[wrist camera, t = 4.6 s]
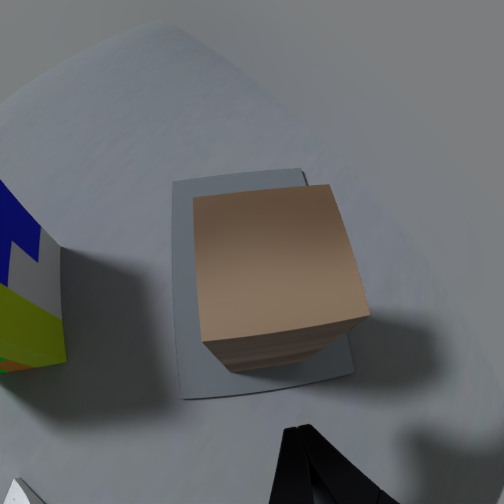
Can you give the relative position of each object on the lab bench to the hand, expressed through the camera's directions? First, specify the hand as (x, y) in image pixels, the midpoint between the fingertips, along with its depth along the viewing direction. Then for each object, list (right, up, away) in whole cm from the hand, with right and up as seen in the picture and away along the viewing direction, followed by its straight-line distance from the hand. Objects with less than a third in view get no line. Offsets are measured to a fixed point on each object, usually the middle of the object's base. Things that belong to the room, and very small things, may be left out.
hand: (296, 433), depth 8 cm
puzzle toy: (-21, 0, +11) cm, 24 cm away
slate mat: (-1, +5, +13) cm, 14 cm away
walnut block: (-1, +1, +10) cm, 10 cm away
